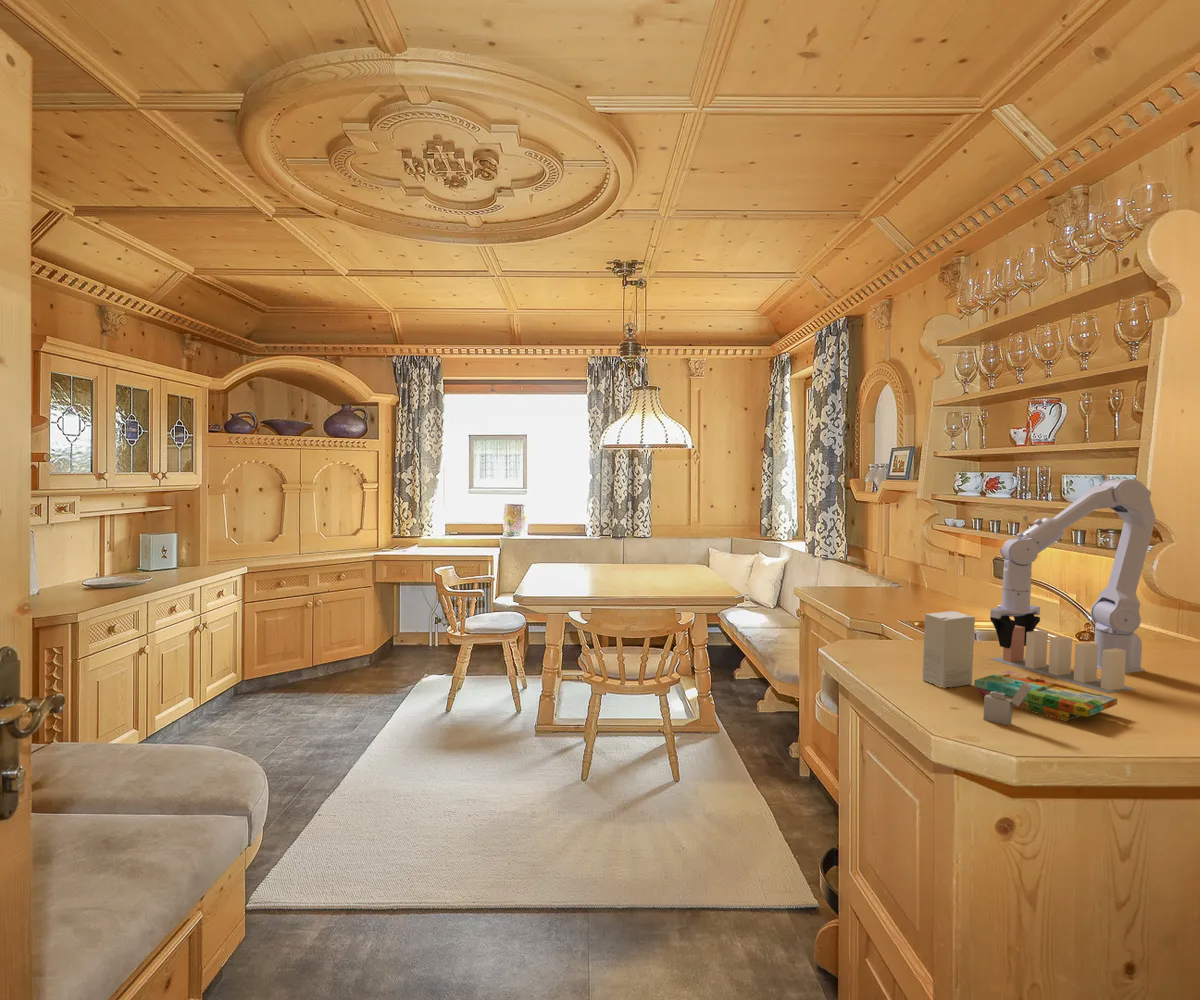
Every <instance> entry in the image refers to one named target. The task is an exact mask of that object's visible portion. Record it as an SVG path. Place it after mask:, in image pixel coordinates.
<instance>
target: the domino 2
mask: <svg viewBox="0 0 1200 1000" xmlns="http://www.w3.org/2000/svg"><path fill="white" fill-rule="evenodd" d="M1048 635H1049V632H1048V631H1042V630H1033V631H1032V632H1027V634H1026V646H1025V653H1024V654H1025V655H1024V656H1025V657H1024V658H1025V666H1026V667H1029V668H1033V669H1035V668H1042V667H1046V664H1047V658H1048V657H1047V656H1048V639H1049V636H1048Z"/></svg>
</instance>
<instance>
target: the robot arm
mask: <svg viewBox="0 0 1200 1000" xmlns="http://www.w3.org/2000/svg"><path fill="white" fill-rule="evenodd" d="M1151 496H1152V492H1151V490H1149V488H1148V487H1147V486H1146V485H1145V484H1144V483H1143V482H1141V481H1139V480H1138V479H1134V478H1133V479H1132V478H1129V479H1116V478H1107V479H1104V480H1102V481H1101V482H1099V484H1098V485H1095V486H1092V487H1091V488H1089V489H1088V490H1087V491H1086V492H1085V493H1084V494H1082V496H1080V497H1079V498H1077V499H1076V500H1074V501H1073V502H1072V503H1071V504H1070V505H1068V506H1067V507H1066V508H1065V509H1063V510H1062V511H1060V512H1059V513H1058V514H1056V515H1055V516H1054V517H1052V518H1049V517H1043V518H1041V519H1040V518H1037V519H1036V520H1034V521H1033V523H1034V524H1033V525H1032V526H1030V527H1029V528H1026V529H1025V530H1024V531H1022V532H1018V533H1016V538H1010V539H1007V540H1006V541H1004V543H1003V544H1002V546H1001V548H1000V549H999V552H1000V554H1001V557H1002V559H1003V560H1004V561H1003V570H1002V571H1003V576H1002V593H1001V595H1002V596H1001V604H997V607H994V608H990V616H989V617H990V619H989V620H990V621H991V623H992V625H993V627H994V629H995V632H996V634H997V639H998V643H999V647H1001V648H1003V647H1004V648H1010V646H1011V640H1012V634H1013V630H1014V628H1015V626H1021V627H1025V639H1024V647H1026V634H1027V632H1032V631H1035V629H1036V627H1037V626H1038V624H1039V623H1040V622H1041V617H1040V615H1041V613H1040V612H1041V611H1040V610H1041V607H1040V606H1037V605H1031V594H1032V568H1033V567H1032V565H1033V562H1035V561H1036V559H1037V558H1038V554H1040V553H1041V552H1043V551H1045V549H1047V548H1048V547H1050V546H1051V545H1054V543H1056V542H1057V541H1059V540H1061V539H1062V538H1063V537H1064V534H1065V533H1064V532H1065V529H1066V528H1068V527H1069V526H1071V525H1073V524H1074V523H1076V522H1078V521H1079V520H1082V519H1083V518H1084V517H1086V516H1087V515H1089V514H1090V513H1092V512H1094V511H1095V510H1100V509H1101V510H1102V509H1111V510H1113V511H1114V512H1115V513H1116V514H1117V515H1118V516H1119V518H1120V519H1122V521H1123V526H1122V529H1121V532H1120V533H1121V535H1120V537H1119V542H1118V545H1117V547H1116V552H1115V556H1114V560H1113V564H1112V568H1111V571H1110V575H1109V579H1108V582H1107V586H1106V588H1104V589H1103V590H1102V591H1100V593H1099V594H1098V595H1099V596H1098V598H1097V600H1096V601H1095V602H1094V603H1093V604H1092V606H1091V609H1090V616H1091V618H1092V620H1093V621H1094V622H1095V626H1094V640H1093V641H1094V642H1093V643H1095V644H1098V660H1097V670H1102V651H1103V650H1106V649H1114V648H1117V649H1121V650H1126V664H1125V674H1131V673H1132V674H1133V673H1138V672H1145V671H1146V669H1145V668H1143V667H1142V654H1143V652H1142V651H1143V642H1142V639H1141V638H1140V635H1138V633H1136V632H1135V631H1137V629H1139V627H1140V626H1141V623H1142V622H1141V621H1142V617H1141V614H1140V609H1141V602H1140V600H1139V598H1138V596H1137V589H1138V586H1139V582H1140V578H1141V575H1142V572H1143V568H1144V564H1145V560H1146V556H1147V554H1148V549H1149V545H1150V542H1151V537H1152V533H1153V530H1154V526H1155V523H1156V513H1155V511H1154V508H1153V505H1152V501H1151ZM1011 617H1013V619H1012V618H1011Z"/></svg>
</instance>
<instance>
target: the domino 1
mask: <svg viewBox="0 0 1200 1000" xmlns="http://www.w3.org/2000/svg"><path fill="white" fill-rule="evenodd" d="M1024 639H1025V627H1021V626H1016V625H1015V628H1014V630H1013V634H1012V640H1011V646H1010V648H1004V647H1002V648H1003V651H1002V657H1003V660H1005V661H1008V662H1016V661H1023V659H1024V658H1025V657H1024V656H1025V655H1024V654H1025V646H1024Z"/></svg>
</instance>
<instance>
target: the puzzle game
mask: <svg viewBox="0 0 1200 1000" xmlns="http://www.w3.org/2000/svg"><path fill="white" fill-rule="evenodd" d="M1024 682H1026V683H1028V684H1029V685H1031V686H1032V688H1031V690H1030V691H1029V693H1028V694H1027V695H1026V697H1025V698H1024V700H1023V701H1022V703H1021V704H1020V705H1019V706H1018V707H1019V709H1022V708H1023V709H1022V710H1025V709H1027V710H1026V711H1029V710H1030V712H1032V711H1033V713H1036V712H1037V713H1036V714H1039V713H1040V715H1043V714H1044V716H1046V715H1048V716H1047V717H1050V716H1052V717H1051V718H1053V717H1055V718H1054V719H1057V718H1059V719H1058V720H1060V719H1063V720H1062V721H1064V720H1068V721H1071V720H1073V719H1076V718H1078V717H1083V718H1086V717H1090V716H1093V715H1095V714H1098V713H1099V712H1102V711H1105V710H1107V709H1110V708H1112V707H1114V706H1116V705H1118V698H1116V697H1113V696H1109V695H1106V694H1105V695H1104V694H1101V693H1097V692H1092V691H1089V690H1085V689H1082V688H1081V689H1080V688H1077V687H1073V686H1069V685H1066V684H1061V683H1058V682H1053V681H1050V680H1047V679H1046V680H1045V679H1044V678H1042V676H1041V677H1040V676H1037V675H1035V676H1033V675H1026V674H1023V673H1018V672H1015V671H1010V670H1006V671H1001V672H997V673H995V674H990V675H988V676H984V677H980V678H977V679H974V685H973V687H974V688H975V689H976V690H977V692H978V693H979V694H980V696H981V698H983V697H984V696H985V695H990V692H994V691H996V692H1000V693H1005V698H1006V699H1011V700H1012V699H1013V697H1014V696H1015V694H1016V693H1017V691H1018V690H1019V689H1020V687H1021V686H1022V684H1023V683H1024ZM1014 706H1015V708H1018V707H1017V706H1016V705H1014V704H1013V703H1012V707H1014ZM1077 716H1078V717H1077ZM1075 717H1076V718H1075ZM1072 718H1073V719H1072ZM1070 719H1071V720H1070Z"/></svg>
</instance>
